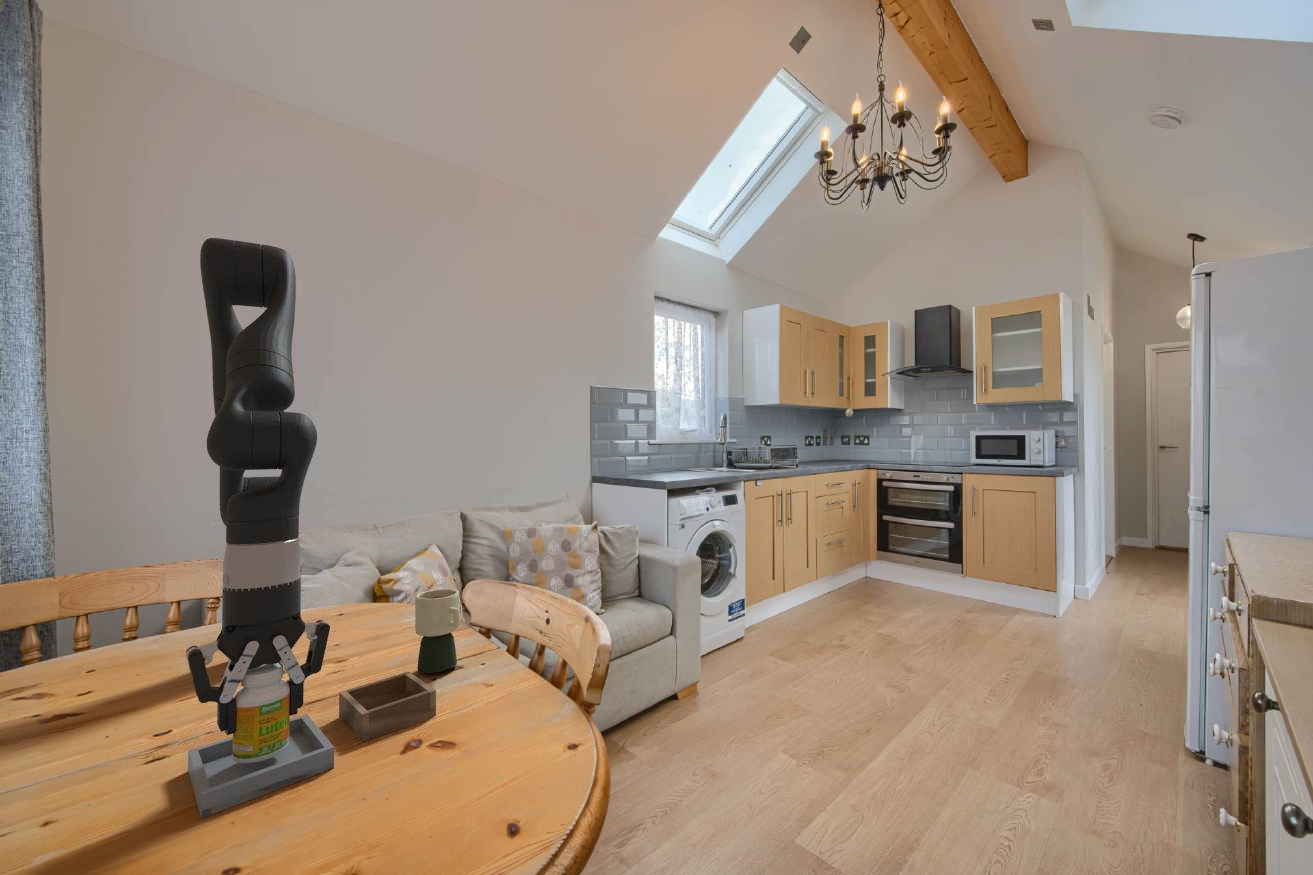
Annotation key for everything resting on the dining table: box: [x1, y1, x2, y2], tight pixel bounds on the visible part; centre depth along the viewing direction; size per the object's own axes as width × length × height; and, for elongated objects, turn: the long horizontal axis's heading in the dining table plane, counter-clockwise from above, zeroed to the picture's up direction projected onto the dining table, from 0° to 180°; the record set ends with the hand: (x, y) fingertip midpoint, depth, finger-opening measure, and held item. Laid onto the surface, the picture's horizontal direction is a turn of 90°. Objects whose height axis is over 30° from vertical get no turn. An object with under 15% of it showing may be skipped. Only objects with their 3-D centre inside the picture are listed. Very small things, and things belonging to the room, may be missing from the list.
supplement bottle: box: [232, 662, 290, 763], centre depth 63 cm, size 5×5×10 cm
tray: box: [187, 713, 335, 819], centre depth 63 cm, size 12×12×2 cm
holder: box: [338, 671, 437, 743], centre depth 76 cm, size 10×10×4 cm
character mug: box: [414, 588, 461, 674], centre depth 92 cm, size 11×7×13 cm, turn 59°
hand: (261, 721), depth 63 cm, fingers closed on supplement bottle, 5 cm apart
